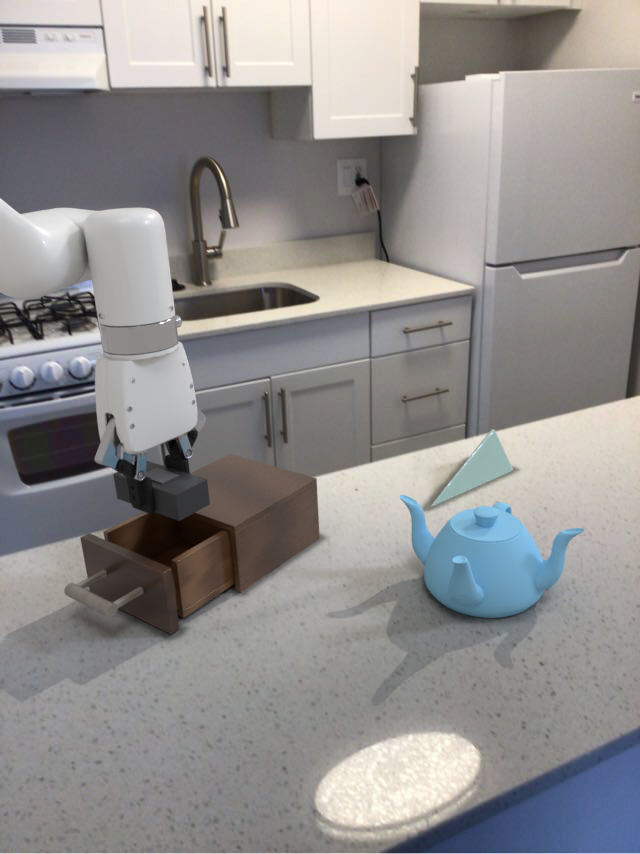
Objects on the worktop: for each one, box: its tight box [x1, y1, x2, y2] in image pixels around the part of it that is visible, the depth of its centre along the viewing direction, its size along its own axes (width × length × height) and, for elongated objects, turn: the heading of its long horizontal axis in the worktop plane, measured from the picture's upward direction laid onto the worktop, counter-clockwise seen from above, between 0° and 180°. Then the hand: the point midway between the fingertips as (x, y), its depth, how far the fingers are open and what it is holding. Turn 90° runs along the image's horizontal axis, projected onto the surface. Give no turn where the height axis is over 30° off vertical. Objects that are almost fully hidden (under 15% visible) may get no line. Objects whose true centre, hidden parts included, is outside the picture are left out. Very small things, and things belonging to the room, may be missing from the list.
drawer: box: [63, 511, 235, 635], centre depth 83 cm, size 18×13×7 cm
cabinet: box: [189, 453, 321, 594], centre depth 93 cm, size 15×15×9 cm
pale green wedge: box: [430, 428, 514, 507], centre depth 107 cm, size 8×6×18 cm
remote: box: [113, 460, 210, 521], centre depth 82 cm, size 4×10×3 cm, turn 53°
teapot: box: [398, 494, 585, 619], centre depth 82 cm, size 15×15×10 cm
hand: (162, 498), depth 82 cm, fingers closed on remote, 4 cm apart
